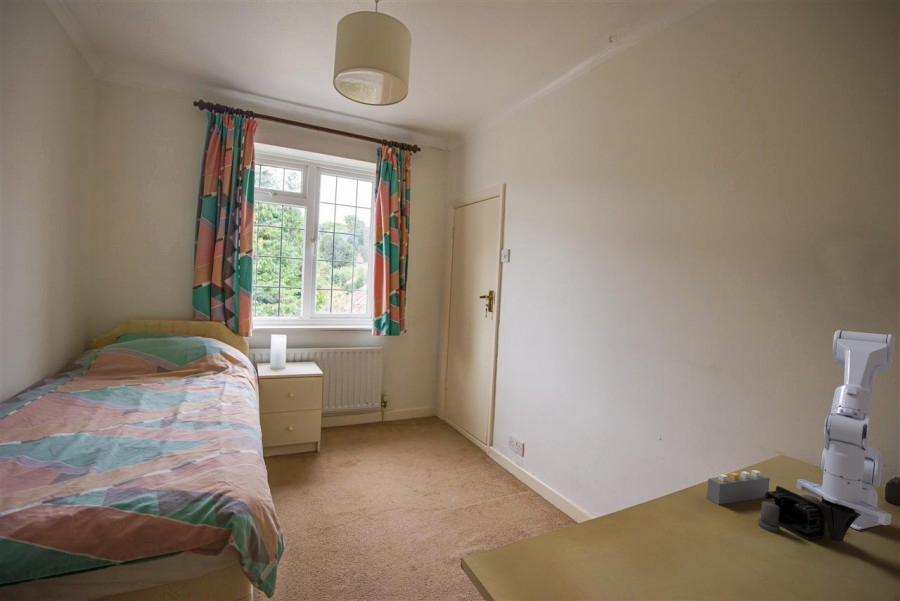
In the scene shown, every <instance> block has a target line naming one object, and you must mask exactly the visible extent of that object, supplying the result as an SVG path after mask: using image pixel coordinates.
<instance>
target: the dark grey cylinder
mask: <svg viewBox="0 0 900 601" xmlns="http://www.w3.org/2000/svg"><path fill="white" fill-rule="evenodd" d="M801 496H803V497H805V498H807V499H809V500H811V501H814V502H816V503H818V502H820V501H821V500H820V499H819V498H817V497H815V496H812V495H807V494H803V495H801Z"/></svg>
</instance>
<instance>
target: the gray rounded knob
mask: <svg viewBox="0 0 900 601" xmlns="http://www.w3.org/2000/svg"><path fill="white" fill-rule="evenodd" d="M779 509H780V507H779V506H778V505H776V504H774V503H772V502H770V501H765V500H763V501H762V502H761V509H760V510H761V513H760V518H759V519H758V523H757V524H758V526H759V527H760V528H762V529H763V530H766V531H768V532H771V533H779V532H780V527H781V526H780V525H778V519H779Z"/></svg>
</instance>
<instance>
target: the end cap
mask: <svg viewBox="0 0 900 601" xmlns="http://www.w3.org/2000/svg"><path fill="white" fill-rule="evenodd" d="M764 499H765V500H770V499H771V500H772V499H773V501H772V502H771V503H774V504H776V505H778V506H779V507H780V509H779V519H778V525H779V526H780V527H782V528H783V529H786V530H787V531H790V532H791V533H793V534H796V535H797V536H799V537H801V538H802V539H804V540H807V541H812V540H813V541H814V540H819V539H822V538H823V537H825V536H828V535H829V530H828V526H827V523H826V520H825V517H824V515H823V513H822V511H821V509H820V507H819V506H818V503H816V502H814V501H811V500H809V499H807V498H805V497H803V496H802V495H800V494H798V493H796V492H793V491H791V490H790V489H786V488H784V487H782V486H779V485H776V486H775V490H770V491H769V492H766V493H765V497H764Z"/></svg>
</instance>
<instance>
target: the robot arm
mask: <svg viewBox="0 0 900 601" xmlns="http://www.w3.org/2000/svg"><path fill="white" fill-rule="evenodd" d="M895 338H896V337H895V336H894V335H893V334H891V333H888V334H885V333H884V334H882V333H871V332H861V331H860V332H859V331H848V330H841V329H838V330H836V331H835V332H834V334H833V340H832V353H833V359H834V361H835V364H836V365H838V366H840V367H842V368H844V373H843V375H844V379H843V385H839V386H838V387H836V388H835V389H834V395H833V399H832V404H831V409H830V415H829V414H827V415H826V416H825V417H826V418H825V420H824V427H823V434H824V446H823V447H824V448H823V449H822V453H821V460H820V461H821V463H820V469H821V471H822V472H823V476H822V484H818V483H815V482H812V481H809V480H806V479H803V478H802V479H801V478H800V479H796V489H797V490H800V491H805V492H807V493H809V494H812V495H814V496H816V497H819V498H821V500H820V502H818V506H819V507H820V509H821V511H822V513H823V515H824V517H825V520H826V523H827V526H828V530H829V534H828V535H829V539H830V540H832V541H834V542H836V543H839V542H844V539H845V536H846V535H847V532H848V530H849V529H850V528H852V529H854V530H858V531H859V530H863V529H869V528H873V527H877V526H881V525H883V526H888V525H891V522H892V515H893V514H891V513H889V512H887V511H885V510H882V509H881V508H878V504H879V502H878V501H879V494H878V492H877V490H876V488H878V487H880V486H881V479H882V472H883V456H882V454H881V452H880V451H879V450H878V449H877V448H876V447H874V446H873V445H871V444H870V442H871V431H872V426H871V412H872V411H871V409H872V402H873V388H874V380H876V378H877V376H878V374H879V373H885V372H889V371H890V368H891V367H892V365H893V364H892V363H893V360H894V351H895V342H896V341H895ZM868 456H869V457H868Z"/></svg>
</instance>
